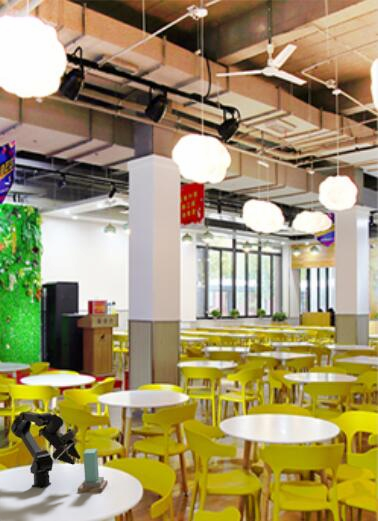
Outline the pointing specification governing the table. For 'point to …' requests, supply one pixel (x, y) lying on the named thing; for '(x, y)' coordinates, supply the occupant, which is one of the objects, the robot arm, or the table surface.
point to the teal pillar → (91, 465)
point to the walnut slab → (92, 488)
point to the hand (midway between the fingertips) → (77, 461)
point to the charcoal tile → (94, 483)
